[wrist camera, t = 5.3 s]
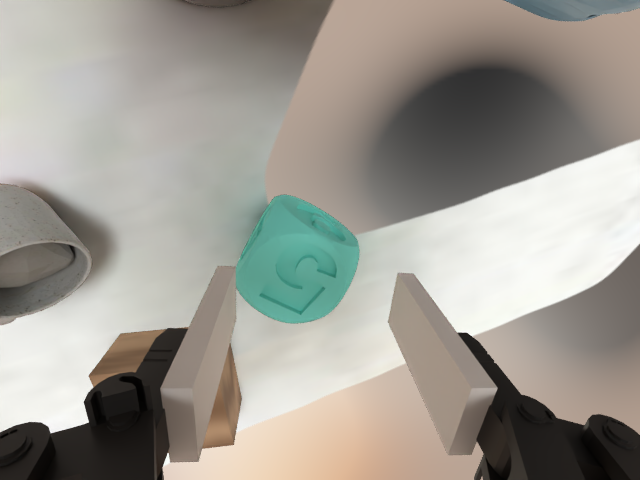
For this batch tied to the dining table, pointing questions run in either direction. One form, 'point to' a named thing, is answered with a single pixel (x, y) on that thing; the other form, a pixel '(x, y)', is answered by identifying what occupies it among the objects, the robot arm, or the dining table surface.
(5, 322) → the ceramic mug
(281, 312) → the decorative dice
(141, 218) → the dining table surface
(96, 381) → the base block
